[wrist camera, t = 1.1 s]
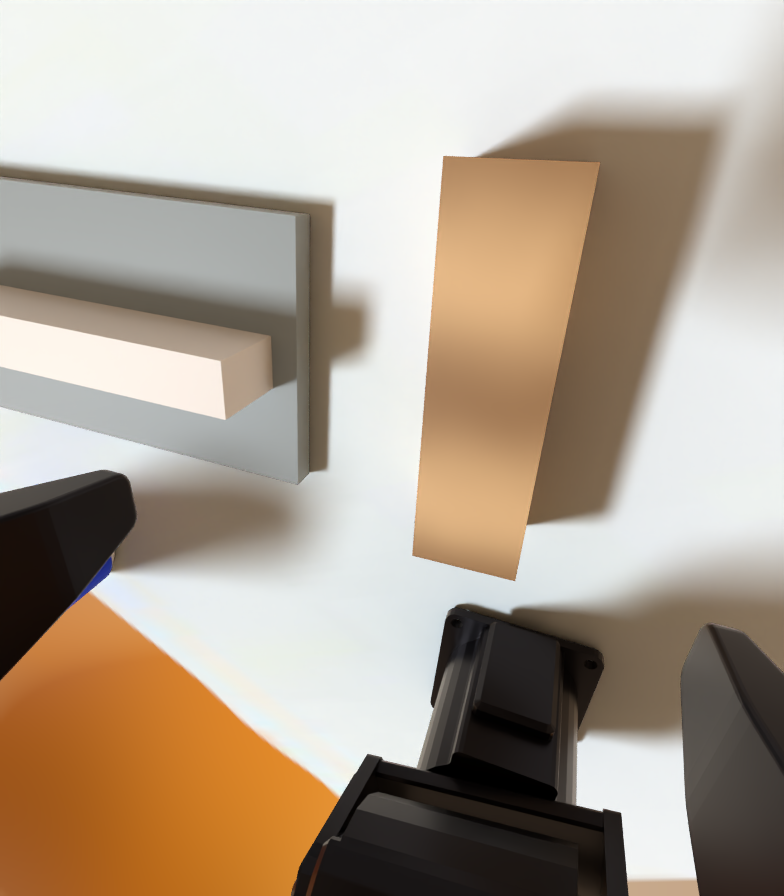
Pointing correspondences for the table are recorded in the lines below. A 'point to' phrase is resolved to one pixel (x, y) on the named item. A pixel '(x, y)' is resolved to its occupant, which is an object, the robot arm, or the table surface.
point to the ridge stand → (158, 321)
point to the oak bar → (495, 350)
